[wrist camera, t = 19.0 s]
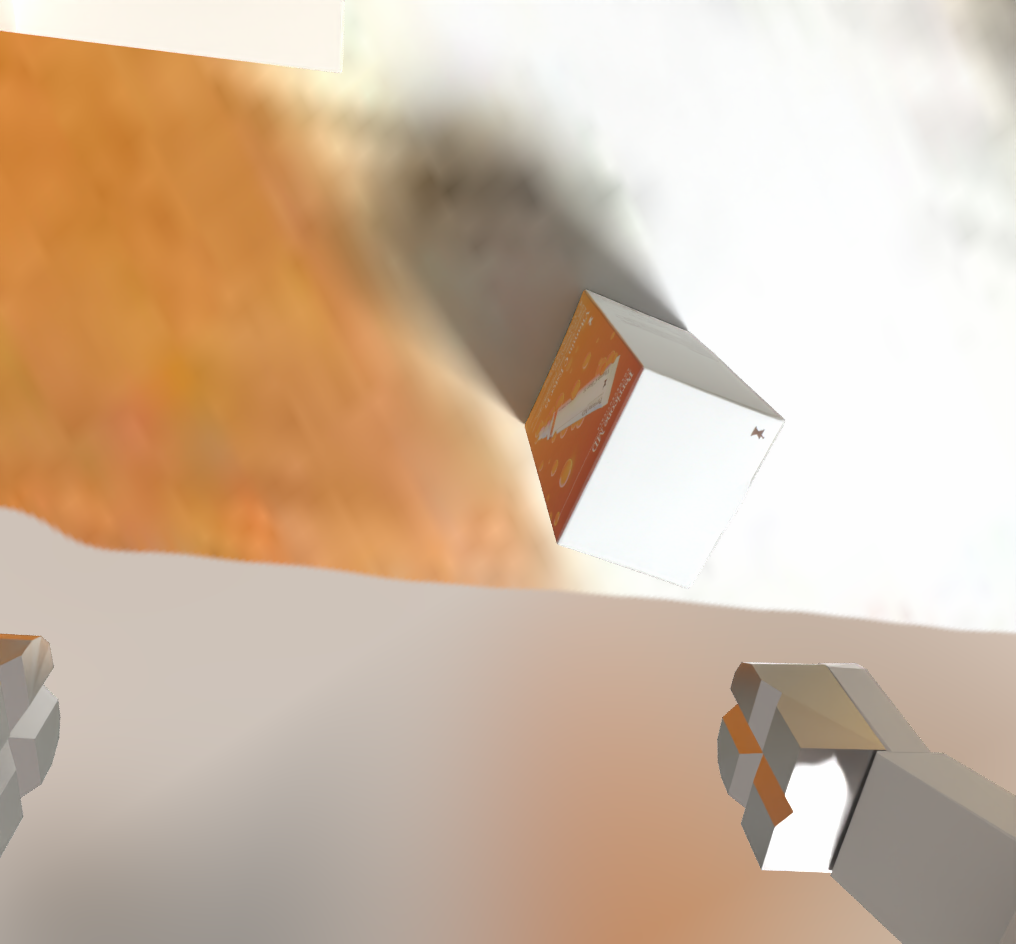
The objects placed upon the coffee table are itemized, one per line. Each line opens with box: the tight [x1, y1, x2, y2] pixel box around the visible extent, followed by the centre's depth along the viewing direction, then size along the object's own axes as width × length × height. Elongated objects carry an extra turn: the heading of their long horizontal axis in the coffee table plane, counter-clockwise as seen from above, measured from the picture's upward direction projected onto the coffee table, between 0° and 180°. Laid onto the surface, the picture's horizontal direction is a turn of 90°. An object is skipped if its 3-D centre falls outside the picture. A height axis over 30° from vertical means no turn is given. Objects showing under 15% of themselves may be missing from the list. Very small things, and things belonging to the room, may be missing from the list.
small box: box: [525, 290, 785, 588], centre depth 38 cm, size 8×6×13 cm
